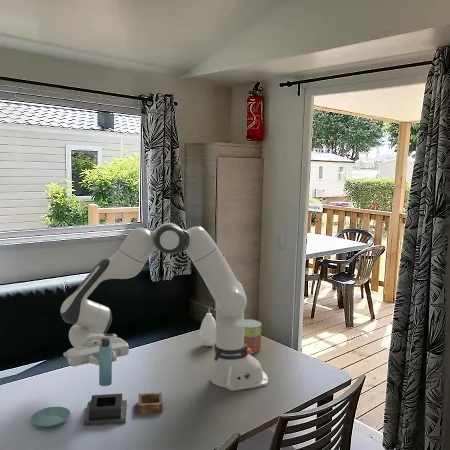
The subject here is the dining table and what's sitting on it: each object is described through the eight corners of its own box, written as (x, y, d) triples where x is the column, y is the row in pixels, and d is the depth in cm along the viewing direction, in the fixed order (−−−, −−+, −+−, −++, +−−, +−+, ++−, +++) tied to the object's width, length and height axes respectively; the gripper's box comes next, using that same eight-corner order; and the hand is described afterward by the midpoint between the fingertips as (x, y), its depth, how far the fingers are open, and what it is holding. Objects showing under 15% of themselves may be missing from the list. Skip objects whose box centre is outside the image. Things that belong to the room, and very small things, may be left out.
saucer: (24, 423, 146) (23, 416, 146) (57, 408, 155) (57, 402, 155) (43, 437, 139) (43, 430, 139) (77, 421, 148) (77, 414, 148)
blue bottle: (112, 380, 153) (112, 336, 151) (111, 385, 149) (111, 341, 147) (99, 380, 152) (99, 337, 150) (98, 386, 148) (98, 341, 147)
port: (126, 404, 159) (126, 391, 158) (125, 423, 147) (125, 409, 147) (87, 406, 157) (87, 394, 156) (83, 425, 145) (83, 412, 144)
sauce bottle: (210, 350, 208) (211, 311, 206) (196, 346, 212) (197, 308, 210) (219, 345, 214) (221, 307, 212) (206, 341, 219) (207, 304, 216)
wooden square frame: (161, 400, 162) (161, 392, 162) (162, 412, 154) (162, 403, 154) (138, 401, 161) (138, 393, 160) (138, 414, 153) (138, 405, 153)
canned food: (242, 342, 219) (243, 317, 218) (264, 346, 214) (265, 321, 213) (232, 350, 209) (232, 324, 208) (254, 355, 204) (255, 329, 203)
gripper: (61, 343, 154) (74, 358, 143) (119, 332, 166) (135, 345, 154) (61, 361, 155) (74, 377, 143) (119, 349, 166) (135, 363, 155)
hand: (106, 360), depth 149 cm, fingers closed on blue bottle, 4 cm apart
